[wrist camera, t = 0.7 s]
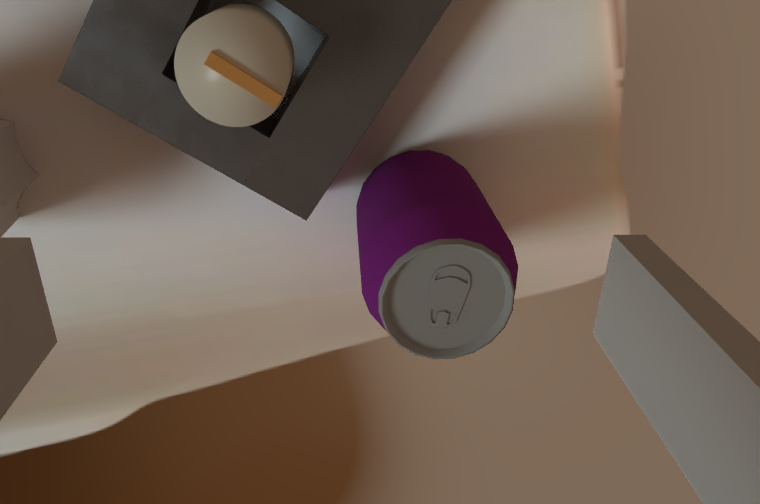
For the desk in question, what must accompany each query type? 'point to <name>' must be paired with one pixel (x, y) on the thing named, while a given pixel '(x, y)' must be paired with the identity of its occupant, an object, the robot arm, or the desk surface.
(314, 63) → the mount plate
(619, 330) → the robot arm
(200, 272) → the desk surface
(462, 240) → the beverage can
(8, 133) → the cup
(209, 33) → the knob
